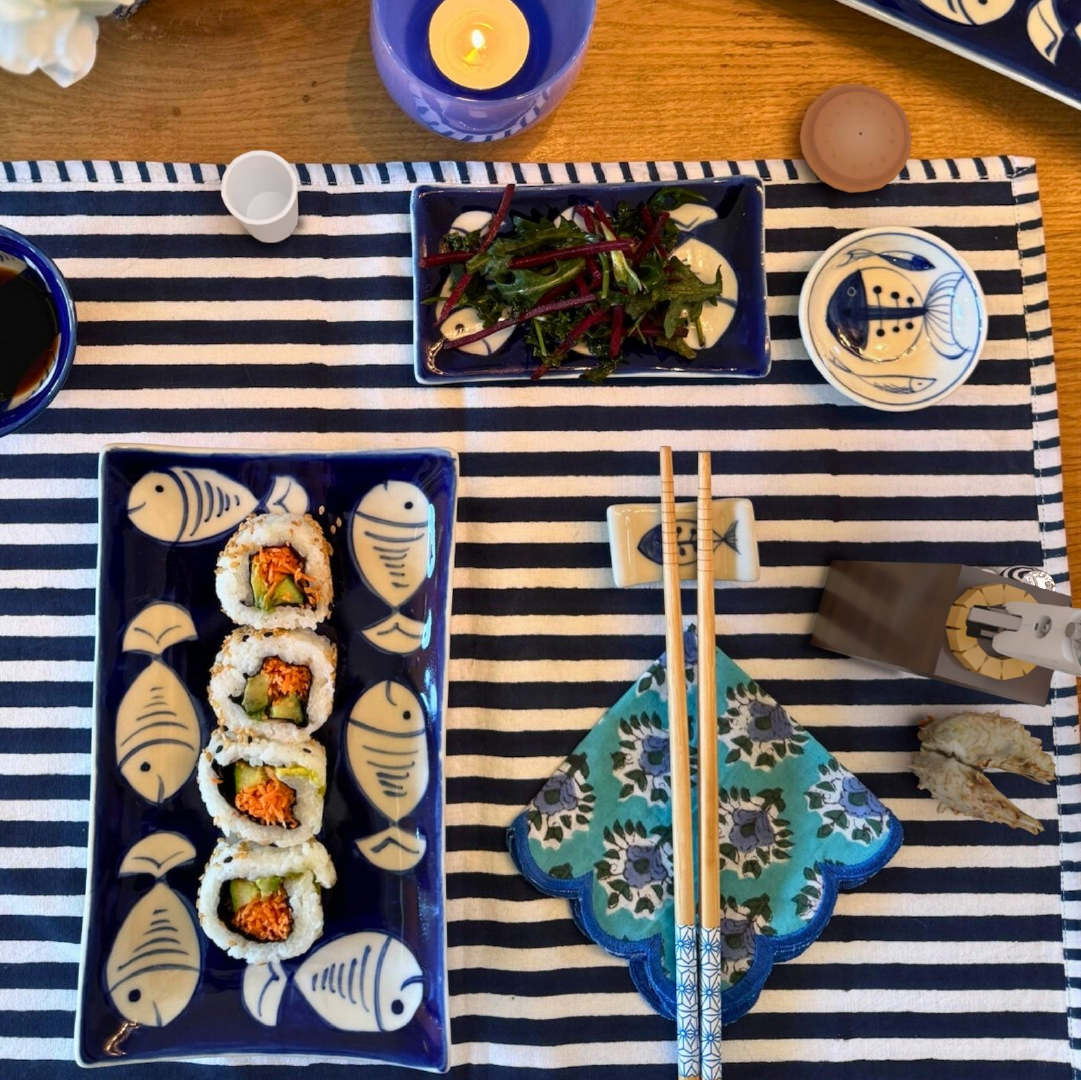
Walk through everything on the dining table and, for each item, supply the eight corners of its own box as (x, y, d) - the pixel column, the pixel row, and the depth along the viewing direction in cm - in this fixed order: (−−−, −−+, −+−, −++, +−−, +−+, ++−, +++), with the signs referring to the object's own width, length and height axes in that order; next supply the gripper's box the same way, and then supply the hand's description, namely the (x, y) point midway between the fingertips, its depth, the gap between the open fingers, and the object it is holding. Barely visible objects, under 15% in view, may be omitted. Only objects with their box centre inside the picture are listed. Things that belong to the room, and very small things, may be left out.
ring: (1048, 601, 110) (1060, 602, 108) (1022, 689, 109) (1034, 691, 107) (961, 571, 110) (971, 572, 108) (935, 659, 109) (945, 661, 107)
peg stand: (915, 584, 144) (1103, 599, 105) (893, 669, 143) (1075, 715, 104) (831, 560, 144) (988, 565, 105) (809, 644, 143) (959, 680, 104)
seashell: (1072, 865, 123) (1114, 749, 126) (933, 788, 124) (979, 676, 128) (985, 847, 140) (1025, 746, 144) (865, 780, 142) (907, 682, 145)
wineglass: (994, 613, 144) (1047, 619, 132) (957, 593, 144) (1006, 597, 132) (1013, 577, 144) (1068, 580, 132) (976, 556, 144) (1027, 557, 132)
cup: (222, 215, 147) (204, 184, 134) (274, 169, 148) (261, 134, 135) (269, 266, 147) (256, 240, 134) (321, 220, 147) (313, 190, 134)
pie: (884, 213, 148) (901, 202, 143) (779, 183, 148) (791, 171, 143) (911, 112, 149) (928, 96, 144) (806, 82, 149) (820, 66, 144)
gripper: (1014, 661, 85) (908, 641, 103) (1218, 722, 85) (1076, 691, 103) (1037, 573, 86) (927, 568, 104) (1239, 632, 86) (1094, 617, 104)
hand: (1002, 630), depth 103 cm, fingers open, 5 cm apart
